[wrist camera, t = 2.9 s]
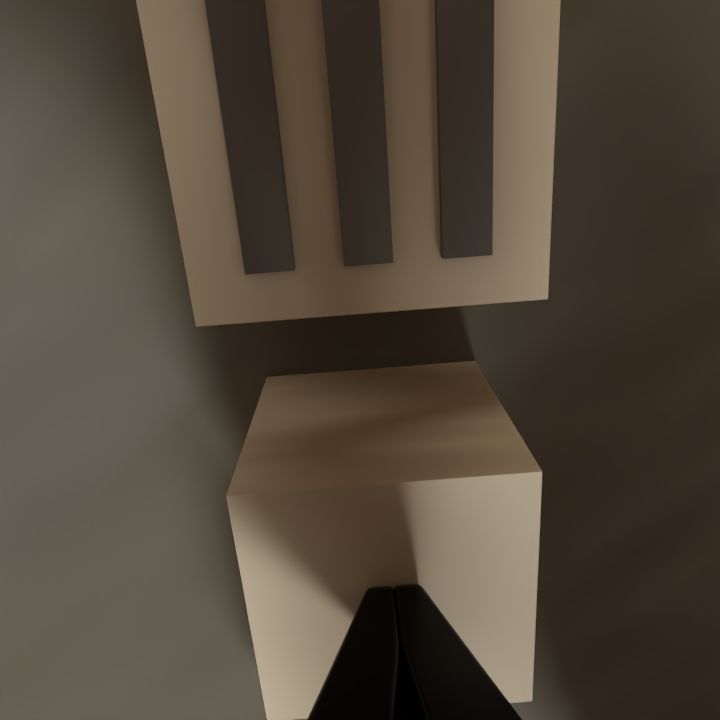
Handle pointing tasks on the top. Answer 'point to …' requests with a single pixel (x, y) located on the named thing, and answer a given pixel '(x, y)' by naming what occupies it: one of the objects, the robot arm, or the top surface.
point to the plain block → (384, 519)
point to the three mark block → (356, 151)
